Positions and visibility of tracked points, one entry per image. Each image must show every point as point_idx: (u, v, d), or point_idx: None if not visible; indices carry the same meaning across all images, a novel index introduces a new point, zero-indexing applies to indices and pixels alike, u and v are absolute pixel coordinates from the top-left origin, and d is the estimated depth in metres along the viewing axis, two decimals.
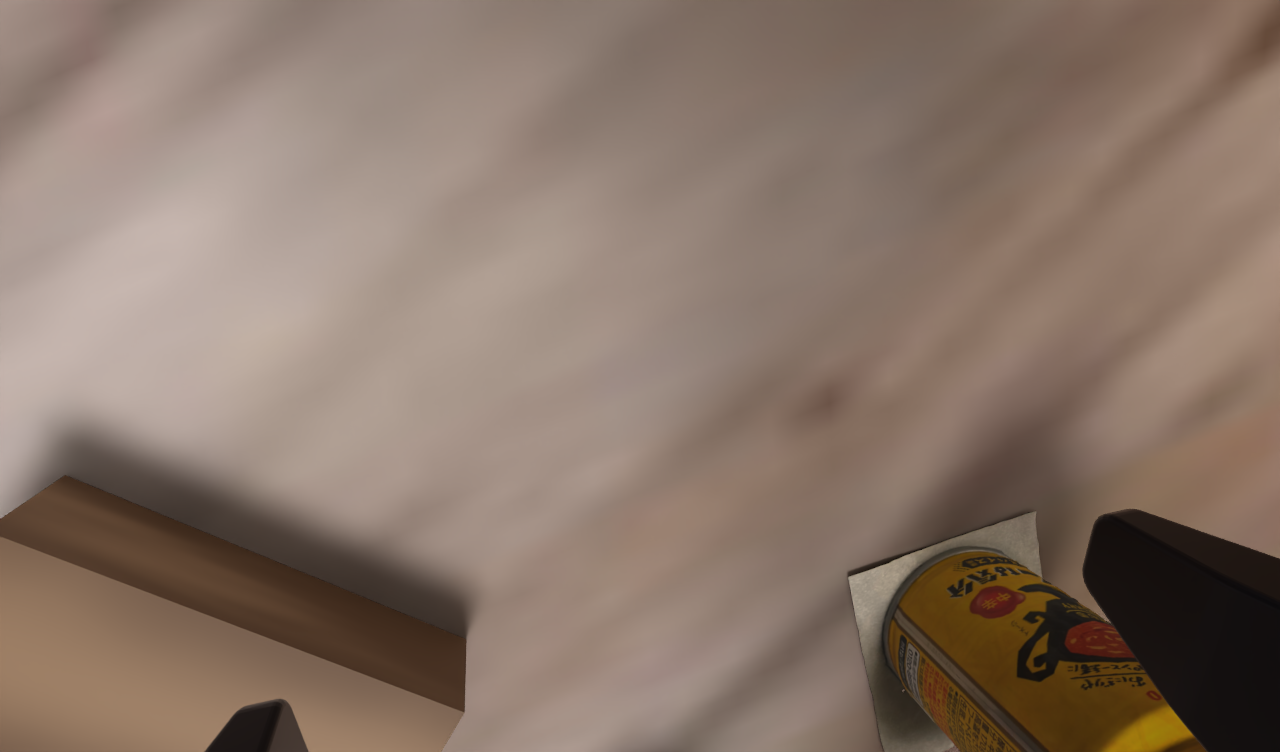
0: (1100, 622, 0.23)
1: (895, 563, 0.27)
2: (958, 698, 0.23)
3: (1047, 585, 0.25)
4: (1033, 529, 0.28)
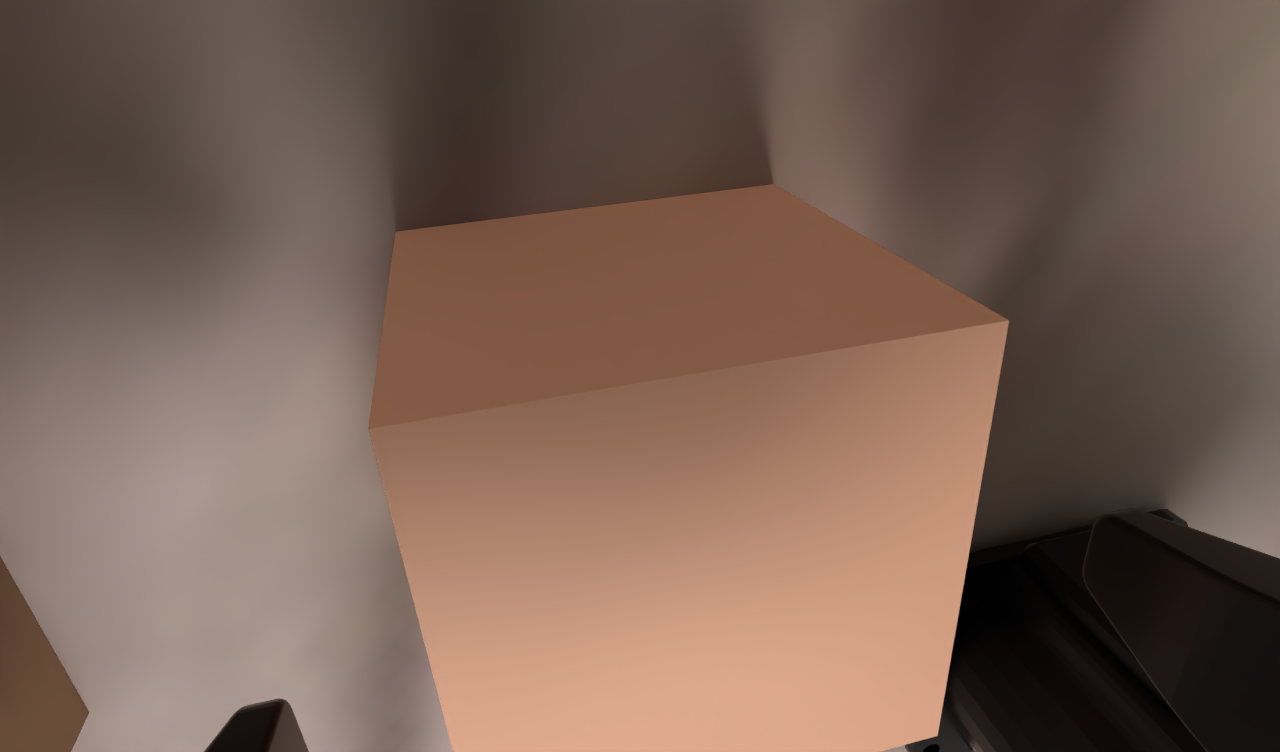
0: None
1: None
2: None
3: None
4: None
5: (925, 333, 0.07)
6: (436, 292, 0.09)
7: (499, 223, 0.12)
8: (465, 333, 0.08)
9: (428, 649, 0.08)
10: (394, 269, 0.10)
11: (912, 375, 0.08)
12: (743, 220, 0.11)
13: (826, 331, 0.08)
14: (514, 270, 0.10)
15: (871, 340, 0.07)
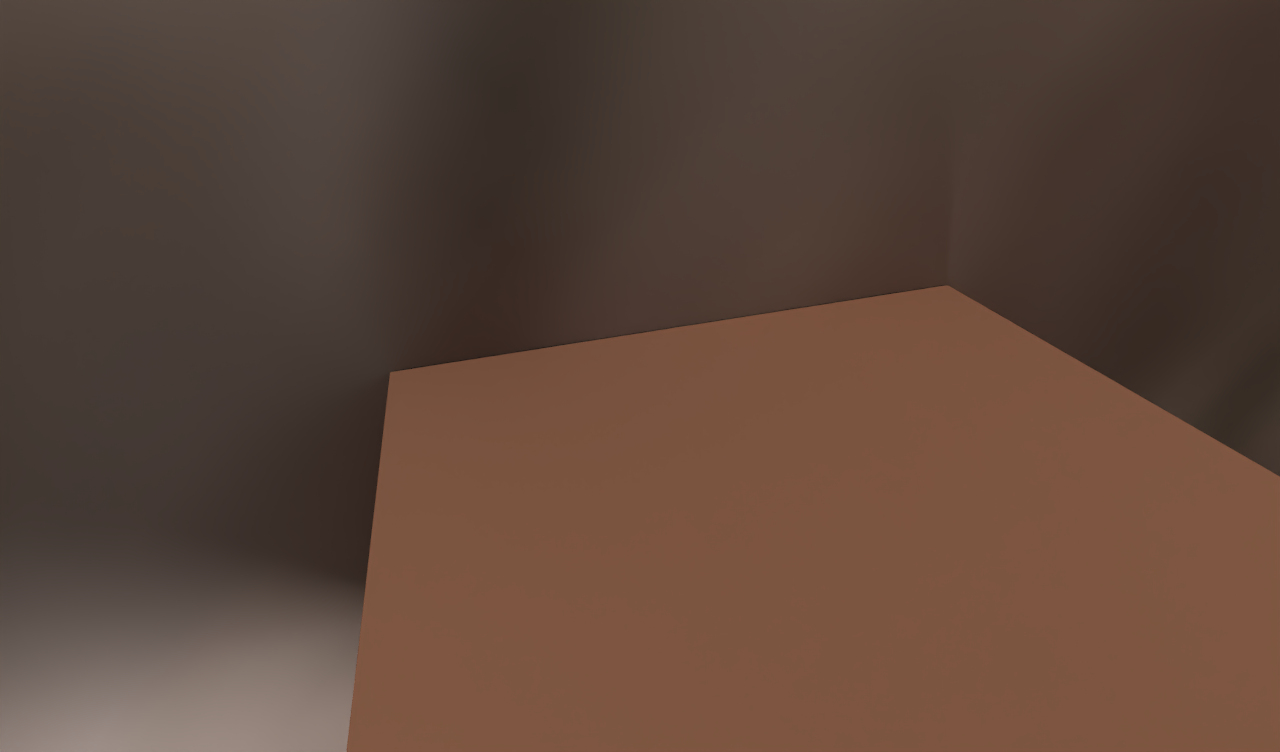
0: None
1: None
2: None
3: None
4: None
5: None
6: (459, 556, 0.05)
7: (550, 362, 0.07)
8: (521, 712, 0.04)
9: None
10: (384, 477, 0.06)
11: None
12: (946, 370, 0.07)
13: None
14: (592, 491, 0.06)
15: None
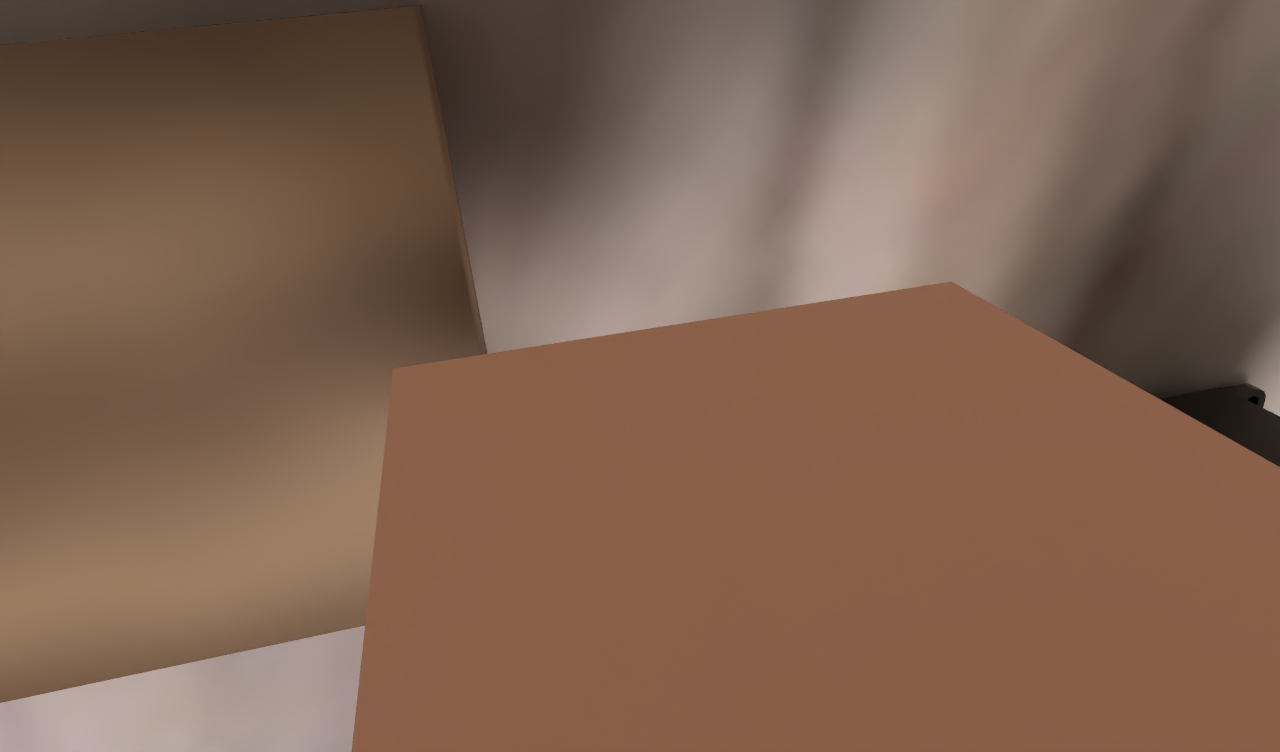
0: None
1: None
2: None
3: None
4: None
5: None
6: (464, 552, 0.05)
7: (554, 359, 0.07)
8: (528, 706, 0.04)
9: None
10: (388, 473, 0.06)
11: None
12: (951, 366, 0.07)
13: None
14: (596, 488, 0.06)
15: None
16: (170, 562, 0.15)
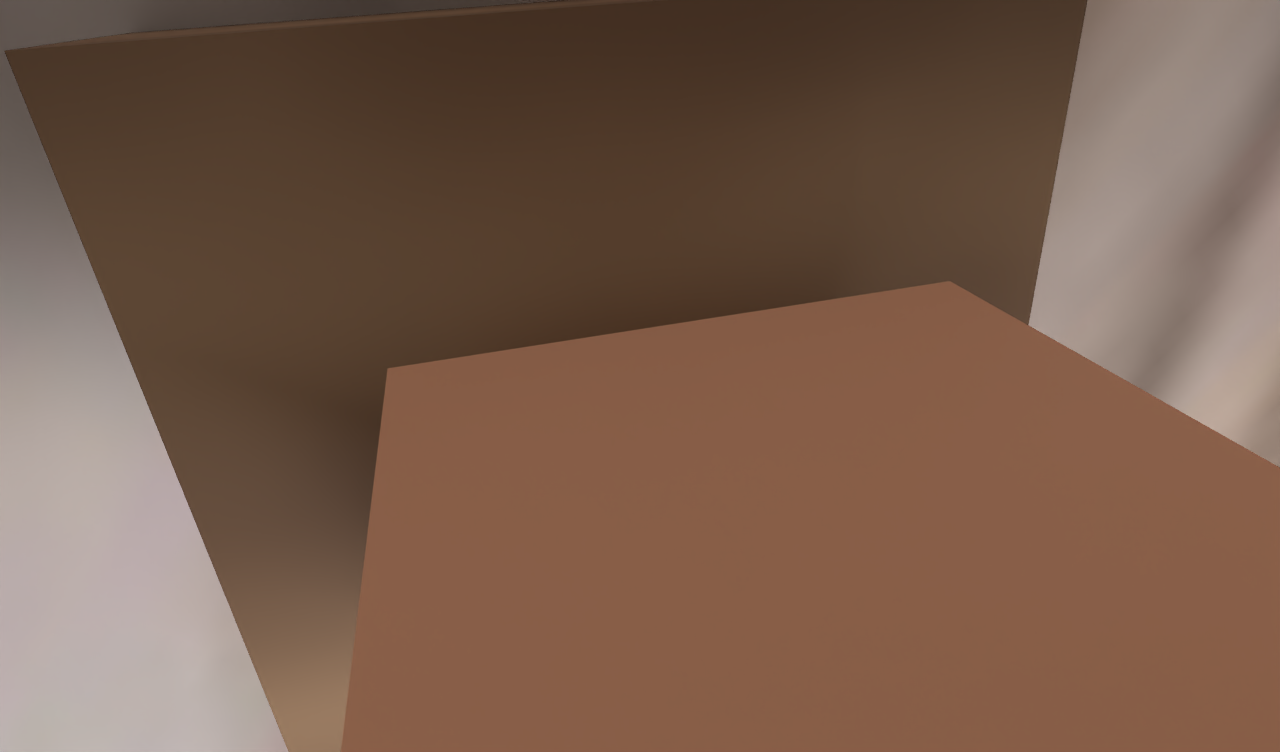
0: None
1: None
2: None
3: None
4: None
5: None
6: (456, 553, 0.05)
7: (549, 358, 0.07)
8: (519, 708, 0.04)
9: None
10: (381, 473, 0.06)
11: None
12: (949, 366, 0.07)
13: None
14: (590, 487, 0.05)
15: None
16: None
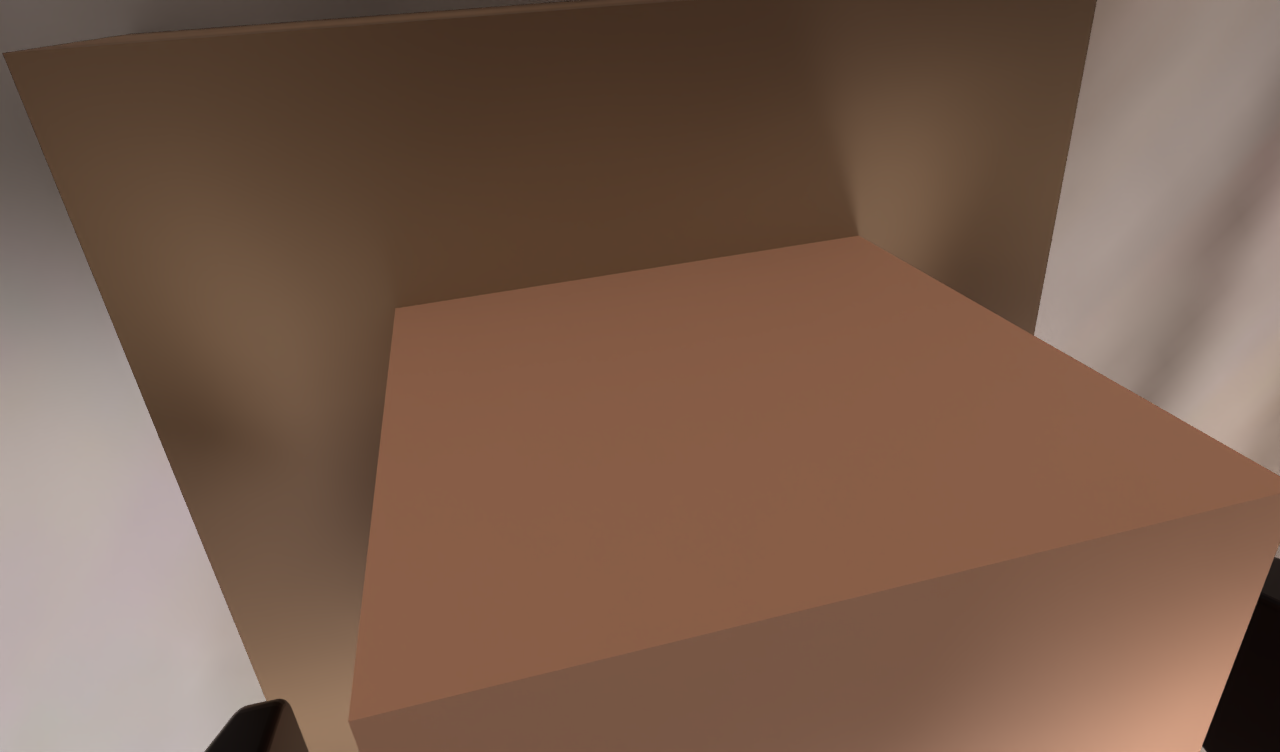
0: None
1: None
2: None
3: None
4: None
5: (1178, 511, 0.05)
6: (449, 419, 0.07)
7: (525, 298, 0.09)
8: (491, 501, 0.06)
9: None
10: (392, 375, 0.08)
11: (1156, 571, 0.05)
12: (839, 294, 0.09)
13: (1027, 508, 0.05)
14: (551, 379, 0.07)
15: (1104, 525, 0.05)
16: None
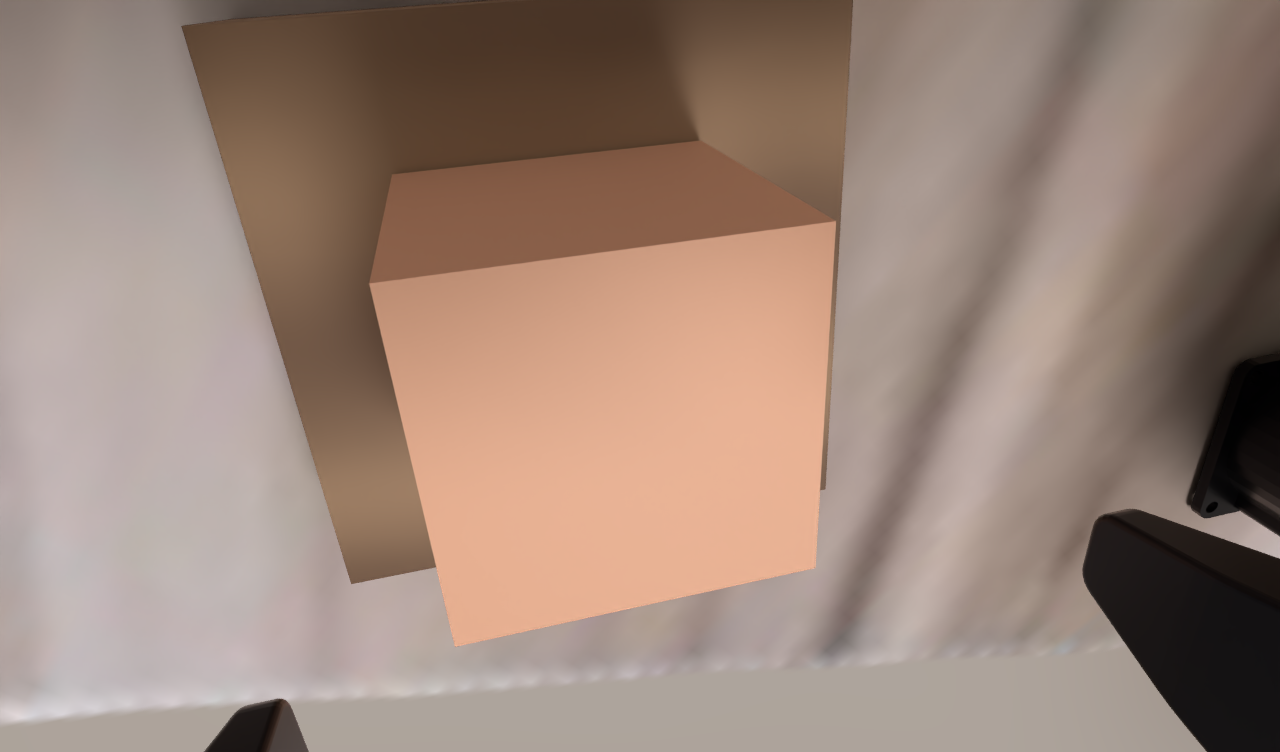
0: None
1: None
2: None
3: None
4: None
5: (773, 229, 0.10)
6: (422, 212, 0.12)
7: (475, 169, 0.14)
8: (440, 234, 0.11)
9: (411, 461, 0.10)
10: (390, 198, 0.13)
11: (765, 261, 0.10)
12: (668, 165, 0.14)
13: (703, 229, 0.10)
14: (482, 198, 0.12)
15: (733, 232, 0.10)
16: None
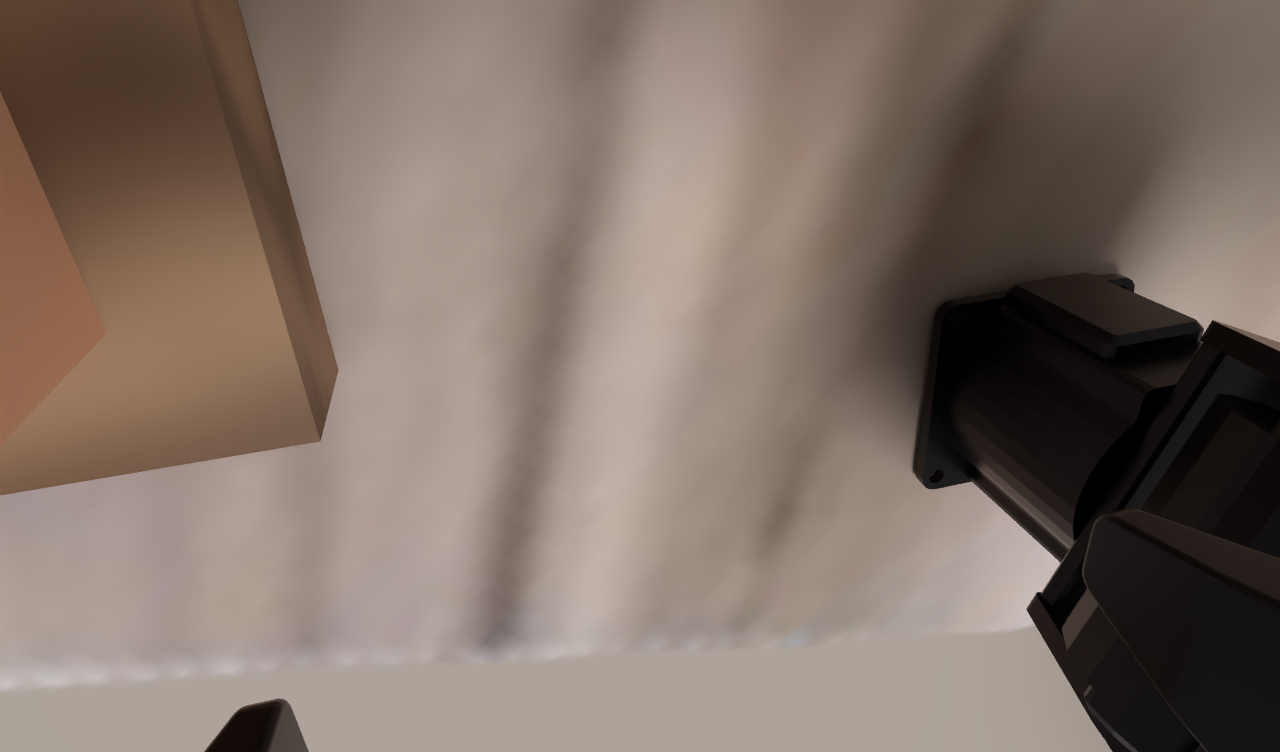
0: None
1: None
2: None
3: None
4: None
5: None
6: None
7: None
8: None
9: None
10: None
11: None
12: None
13: None
14: None
15: None
16: None
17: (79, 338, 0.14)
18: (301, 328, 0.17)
